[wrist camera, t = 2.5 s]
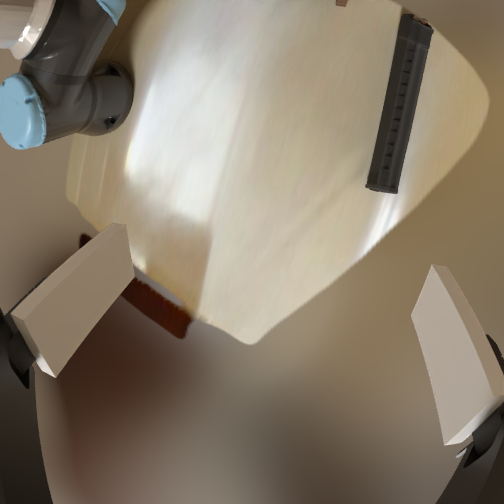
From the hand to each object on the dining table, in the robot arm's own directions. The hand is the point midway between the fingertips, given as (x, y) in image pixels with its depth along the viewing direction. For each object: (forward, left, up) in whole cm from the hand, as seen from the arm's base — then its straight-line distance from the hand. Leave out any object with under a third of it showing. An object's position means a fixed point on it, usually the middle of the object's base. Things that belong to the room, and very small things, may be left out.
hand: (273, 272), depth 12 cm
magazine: (+14, +9, -39) cm, 42 cm away
